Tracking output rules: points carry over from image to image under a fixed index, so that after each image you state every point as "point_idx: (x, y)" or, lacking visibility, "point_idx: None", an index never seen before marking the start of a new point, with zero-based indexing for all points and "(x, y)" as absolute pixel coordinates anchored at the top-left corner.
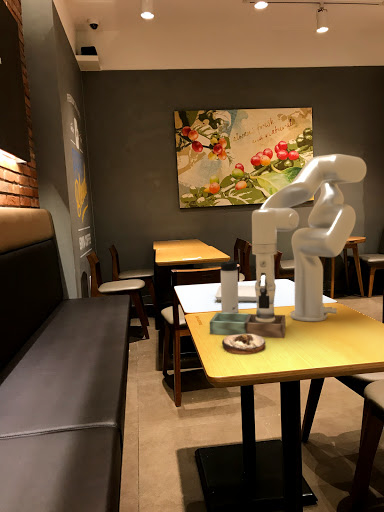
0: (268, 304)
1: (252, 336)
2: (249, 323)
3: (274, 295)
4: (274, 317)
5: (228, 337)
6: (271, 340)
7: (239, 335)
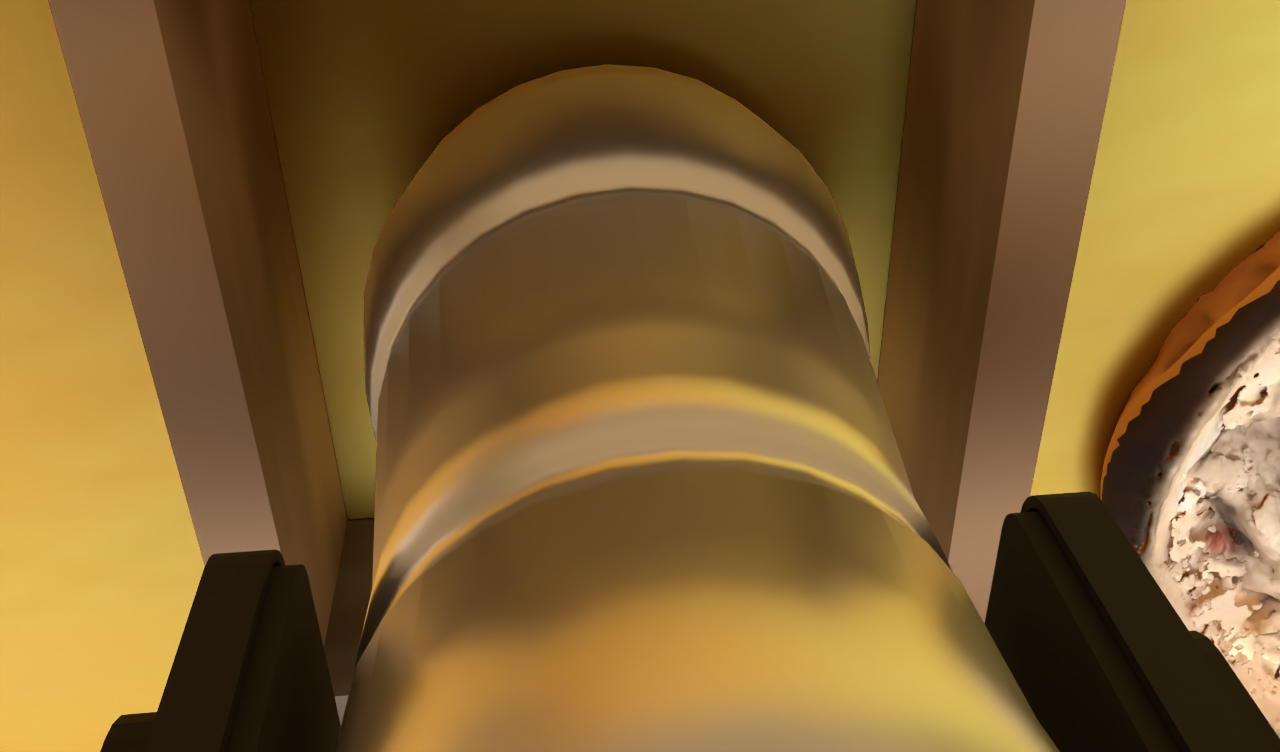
0: (1143, 599)
1: (1239, 412)
2: None
3: (777, 688)
4: (643, 184)
5: (1264, 705)
6: (1163, 50)
7: (1169, 598)
